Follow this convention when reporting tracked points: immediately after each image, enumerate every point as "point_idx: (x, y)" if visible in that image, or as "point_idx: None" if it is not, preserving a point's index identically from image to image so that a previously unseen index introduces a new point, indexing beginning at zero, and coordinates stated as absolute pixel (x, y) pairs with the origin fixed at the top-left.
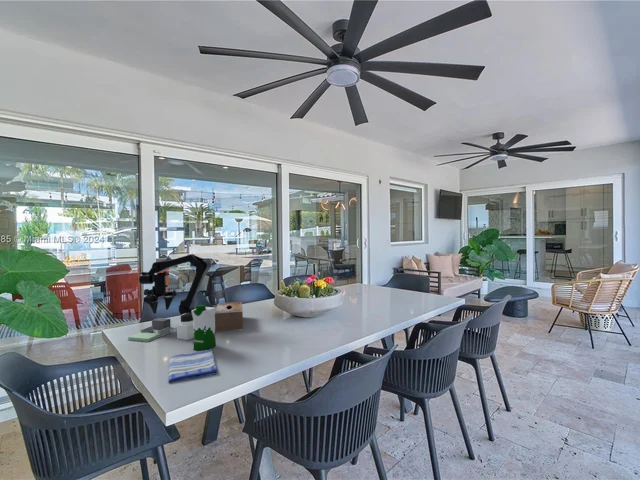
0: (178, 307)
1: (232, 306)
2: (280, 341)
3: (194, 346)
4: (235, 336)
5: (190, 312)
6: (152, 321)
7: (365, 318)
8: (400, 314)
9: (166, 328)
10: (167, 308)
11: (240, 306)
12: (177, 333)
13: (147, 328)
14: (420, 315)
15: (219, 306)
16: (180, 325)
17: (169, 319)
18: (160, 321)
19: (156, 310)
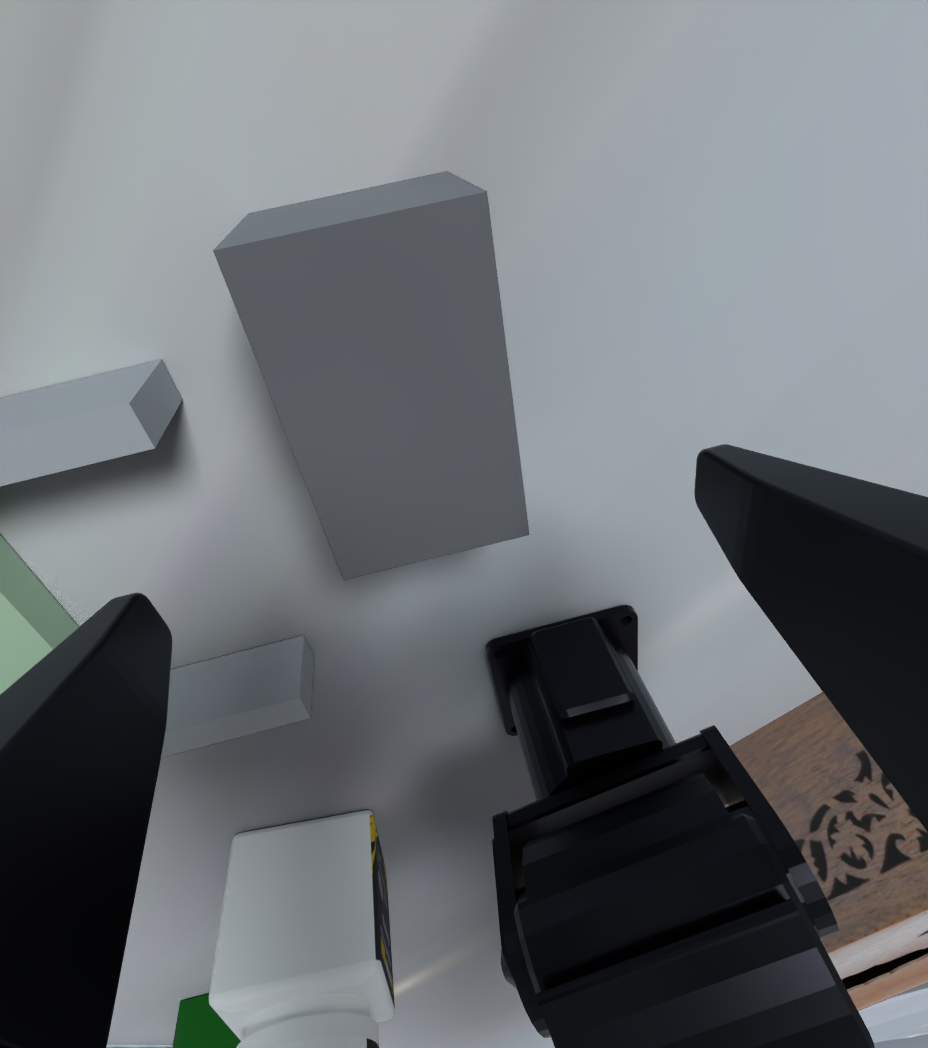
0: (538, 993)
1: (891, 975)
2: (510, 1044)
3: (175, 1036)
4: (494, 958)
5: (725, 778)
6: (228, 267)
7: (869, 1008)
8: (917, 1020)
9: (236, 736)
10: (716, 522)
11: (886, 995)
12: (225, 895)
13: (7, 478)
14: (897, 1038)
15: (906, 929)
16: (225, 1021)
17: (503, 534)
18: (317, 508)
19: (154, 758)
